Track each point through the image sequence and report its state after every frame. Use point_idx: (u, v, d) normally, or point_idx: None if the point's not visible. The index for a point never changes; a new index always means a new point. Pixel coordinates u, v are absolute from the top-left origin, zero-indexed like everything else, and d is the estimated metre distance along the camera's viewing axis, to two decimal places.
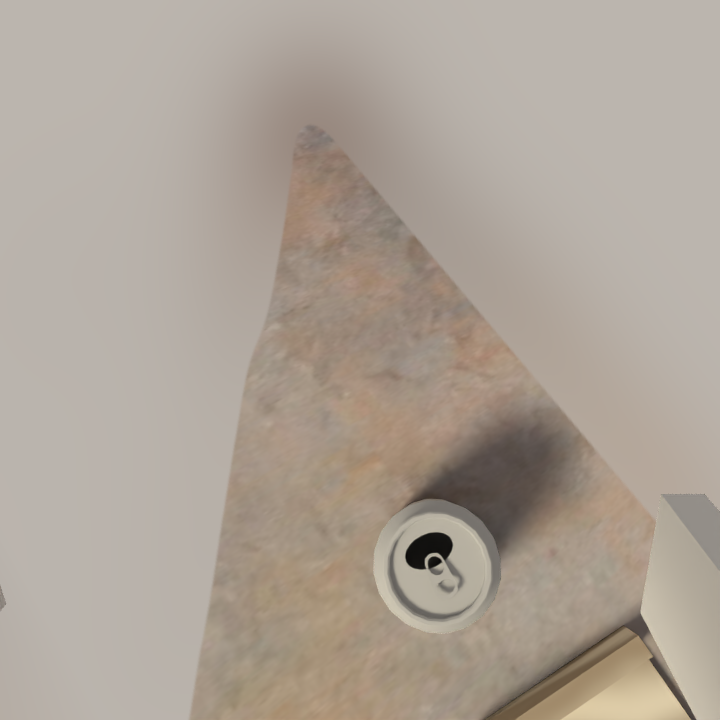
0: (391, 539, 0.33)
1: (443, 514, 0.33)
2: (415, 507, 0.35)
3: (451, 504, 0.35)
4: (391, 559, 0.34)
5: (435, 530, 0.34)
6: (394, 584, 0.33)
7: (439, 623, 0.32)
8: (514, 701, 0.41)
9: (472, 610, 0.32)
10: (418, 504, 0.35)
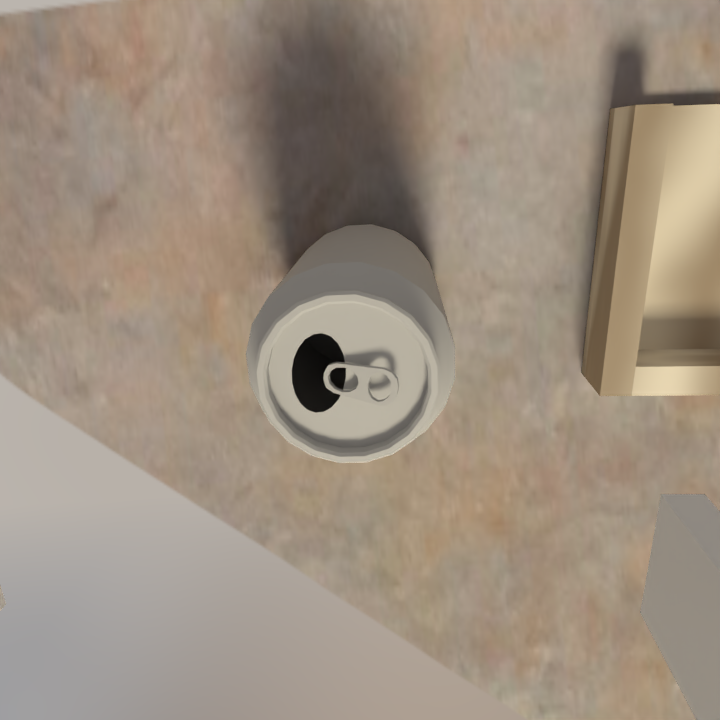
0: (270, 418, 0.20)
1: (275, 326, 0.19)
2: (251, 348, 0.20)
3: (276, 293, 0.20)
4: (301, 429, 0.20)
5: (295, 347, 0.19)
6: (336, 444, 0.21)
7: (421, 422, 0.20)
8: (590, 310, 0.29)
9: (433, 369, 0.19)
10: (251, 340, 0.20)
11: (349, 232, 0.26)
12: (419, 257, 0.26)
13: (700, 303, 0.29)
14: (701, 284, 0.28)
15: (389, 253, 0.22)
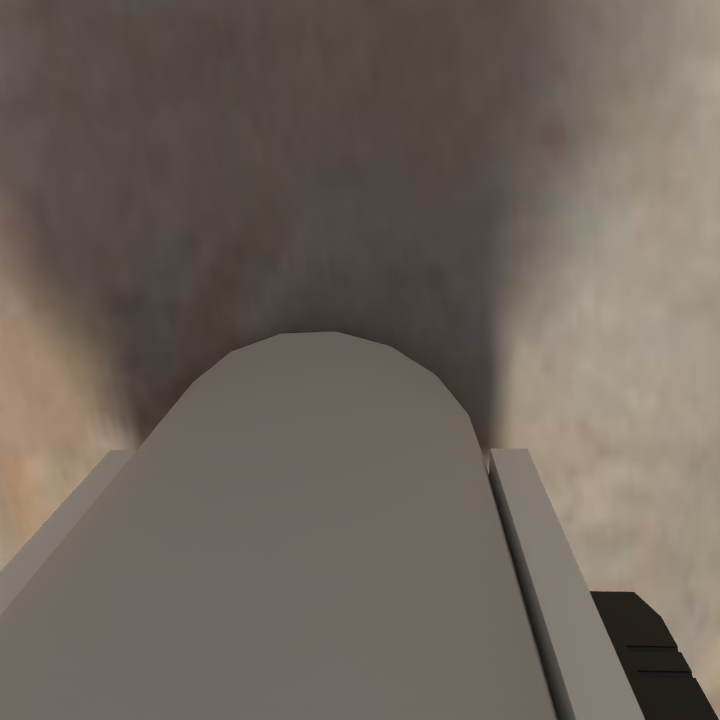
0: None
1: None
2: None
3: None
4: None
5: None
6: None
7: None
8: None
9: None
10: None
11: (271, 376, 0.10)
12: (454, 443, 0.10)
13: None
14: None
15: (368, 542, 0.06)
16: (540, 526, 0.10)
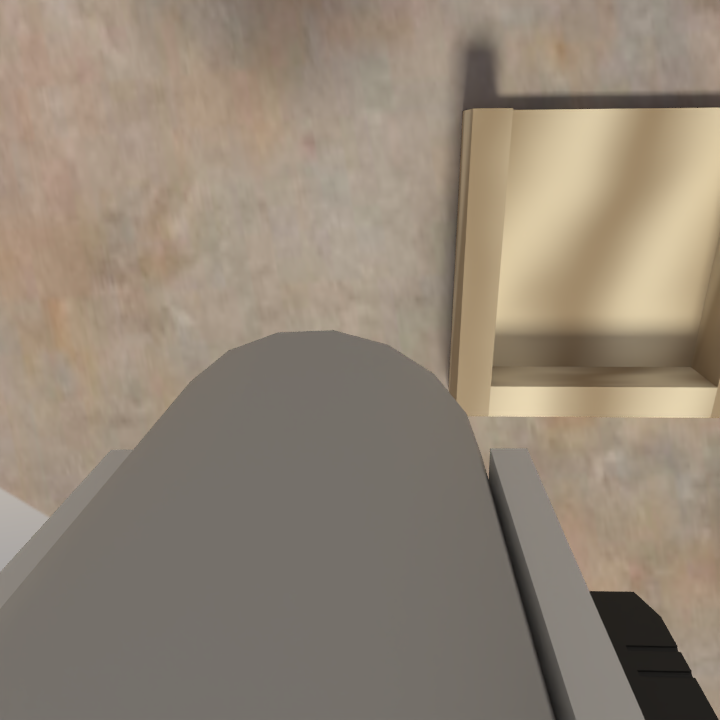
0: None
1: None
2: None
3: None
4: None
5: None
6: None
7: None
8: (452, 324, 0.28)
9: None
10: None
11: (268, 375, 0.10)
12: (451, 442, 0.10)
13: (564, 319, 0.27)
14: (564, 299, 0.27)
15: (363, 540, 0.06)
16: (540, 526, 0.10)
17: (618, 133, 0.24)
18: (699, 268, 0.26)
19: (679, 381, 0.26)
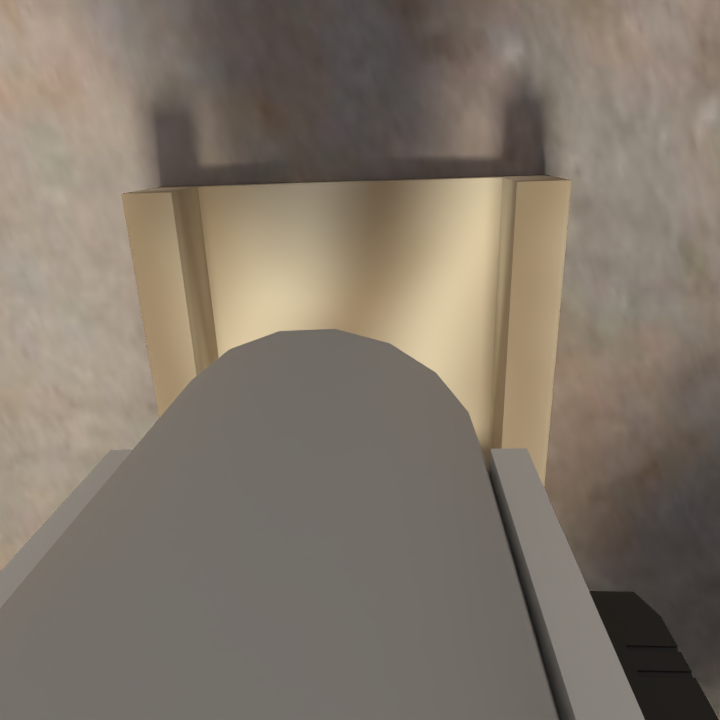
0: None
1: None
2: None
3: None
4: None
5: None
6: None
7: None
8: None
9: None
10: None
11: (269, 373, 0.10)
12: (453, 440, 0.10)
13: None
14: None
15: (367, 539, 0.06)
16: (540, 526, 0.10)
17: (346, 212, 0.19)
18: (477, 371, 0.21)
19: None
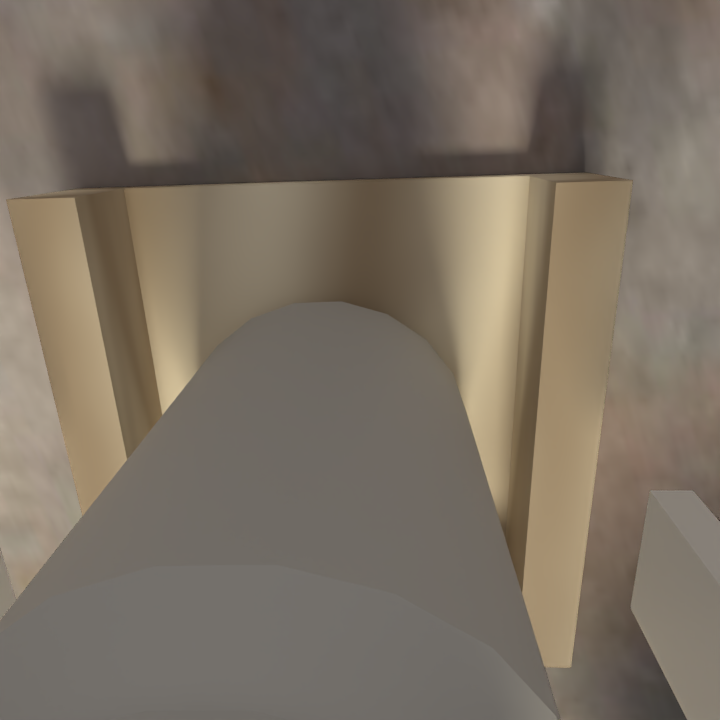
0: None
1: None
2: None
3: None
4: None
5: None
6: None
7: None
8: None
9: None
10: None
11: (290, 333, 0.12)
12: (440, 388, 0.12)
13: None
14: None
15: (376, 438, 0.08)
16: None
17: (321, 221, 0.15)
18: (492, 425, 0.16)
19: None
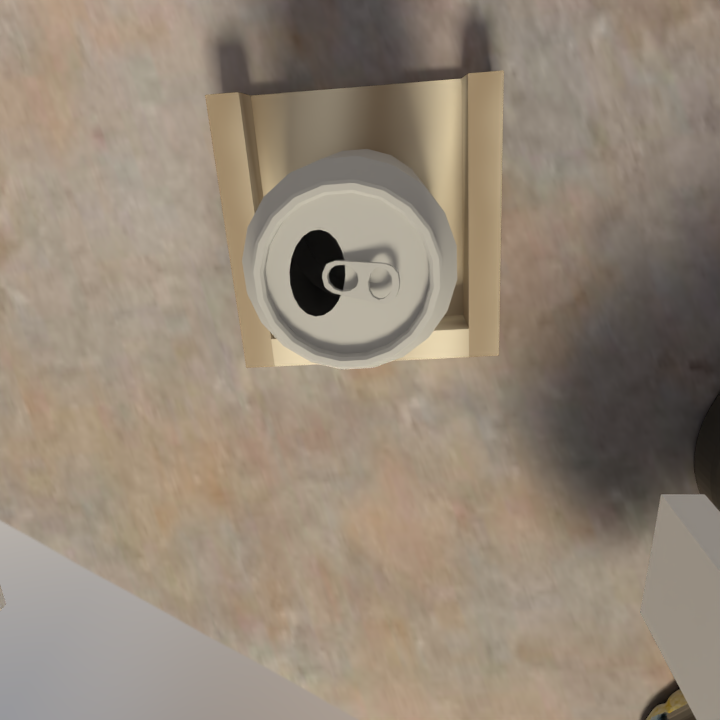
0: (269, 322, 0.19)
1: (271, 221, 0.18)
2: (247, 252, 0.20)
3: (271, 192, 0.19)
4: (300, 335, 0.20)
5: (292, 245, 0.19)
6: (337, 350, 0.20)
7: (423, 321, 0.19)
8: None
9: (435, 263, 0.18)
10: (246, 244, 0.20)
11: None
12: (416, 175, 0.25)
13: None
14: None
15: (386, 159, 0.22)
16: None
17: (354, 108, 0.28)
18: (451, 224, 0.29)
19: (441, 326, 0.30)
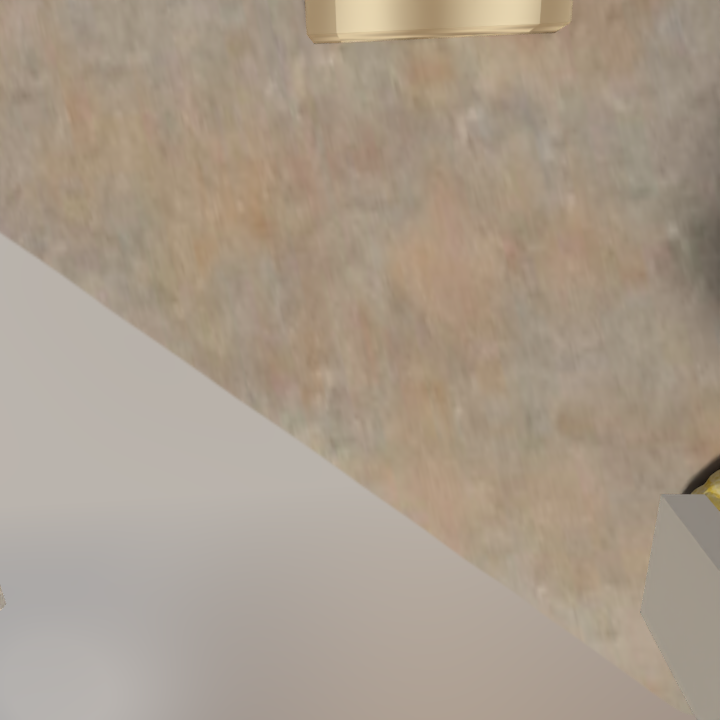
0: None
1: None
2: None
3: None
4: None
5: None
6: None
7: None
8: None
9: None
10: None
11: None
12: None
13: None
14: None
15: None
16: None
17: None
18: None
19: None
